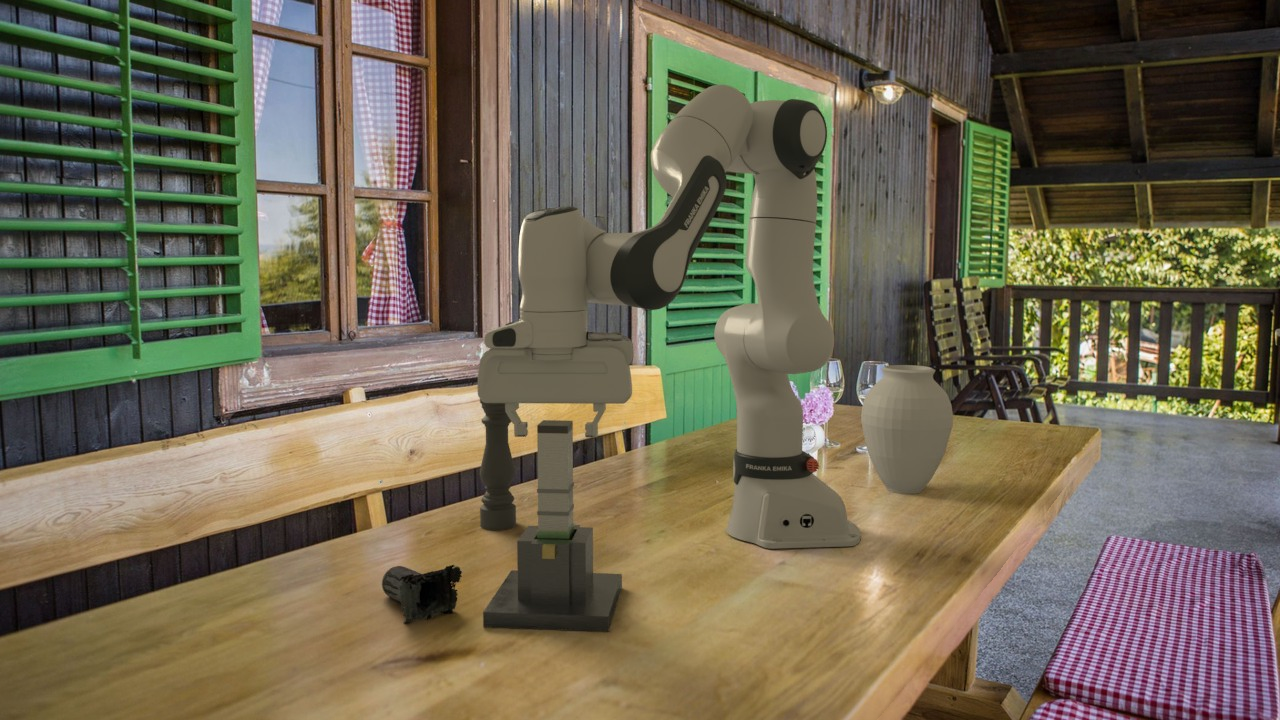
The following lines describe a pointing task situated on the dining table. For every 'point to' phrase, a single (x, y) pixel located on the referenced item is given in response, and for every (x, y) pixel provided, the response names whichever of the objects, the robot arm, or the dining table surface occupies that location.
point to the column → (555, 480)
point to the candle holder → (497, 471)
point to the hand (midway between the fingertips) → (556, 436)
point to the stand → (555, 587)
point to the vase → (906, 427)
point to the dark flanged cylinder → (422, 591)
